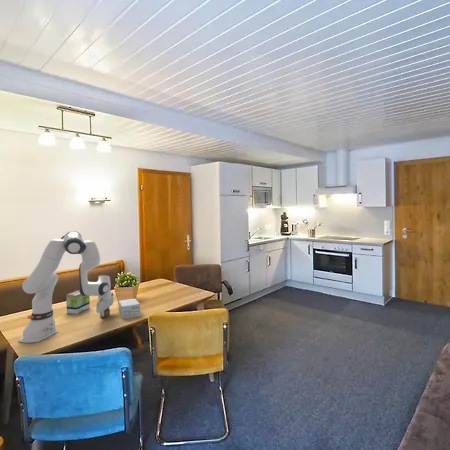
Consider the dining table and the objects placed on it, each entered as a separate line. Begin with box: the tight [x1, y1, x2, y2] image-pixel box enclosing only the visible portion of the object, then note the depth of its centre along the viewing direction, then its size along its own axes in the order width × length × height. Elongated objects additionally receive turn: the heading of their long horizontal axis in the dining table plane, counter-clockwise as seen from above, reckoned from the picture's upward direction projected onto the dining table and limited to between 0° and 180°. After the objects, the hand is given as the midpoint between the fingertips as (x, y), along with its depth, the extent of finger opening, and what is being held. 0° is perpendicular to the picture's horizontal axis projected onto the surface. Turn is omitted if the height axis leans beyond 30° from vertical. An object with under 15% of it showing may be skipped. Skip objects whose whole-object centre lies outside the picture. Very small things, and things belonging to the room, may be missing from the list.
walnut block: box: [99, 308, 111, 319], centre depth 222 cm, size 5×5×5 cm
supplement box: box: [118, 298, 141, 320], centre depth 228 cm, size 17×13×9 cm
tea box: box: [65, 289, 91, 315], centre depth 237 cm, size 15×10×15 cm
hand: (105, 314), depth 223 cm, fingers closed on walnut block, 5 cm apart
